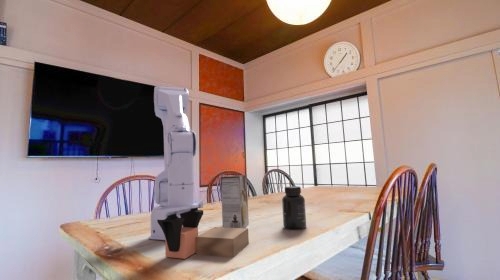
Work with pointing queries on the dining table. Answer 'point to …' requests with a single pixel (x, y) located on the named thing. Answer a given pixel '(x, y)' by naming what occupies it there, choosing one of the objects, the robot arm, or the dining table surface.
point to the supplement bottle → (293, 209)
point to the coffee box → (234, 201)
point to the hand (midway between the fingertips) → (182, 246)
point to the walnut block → (222, 241)
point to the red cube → (184, 244)
